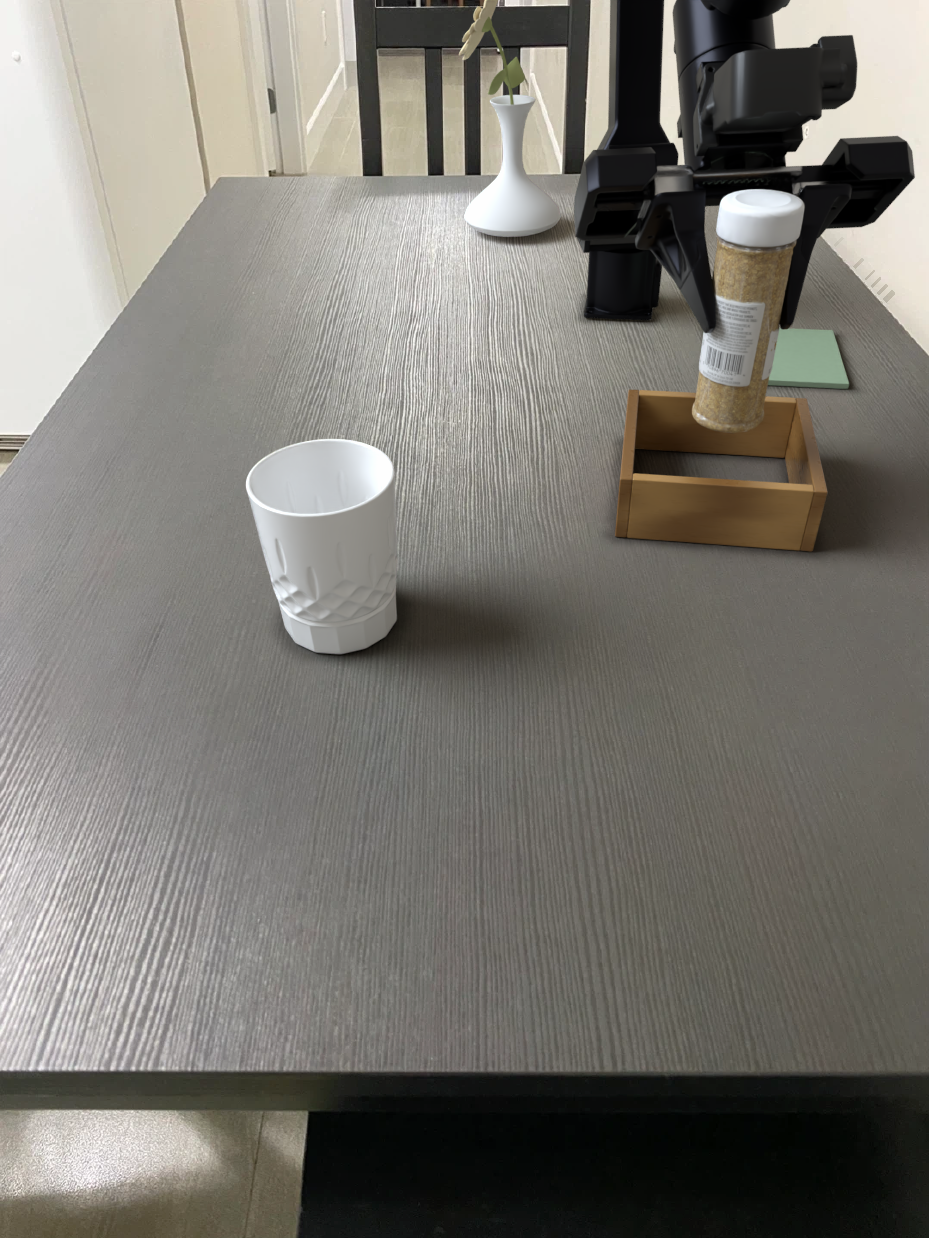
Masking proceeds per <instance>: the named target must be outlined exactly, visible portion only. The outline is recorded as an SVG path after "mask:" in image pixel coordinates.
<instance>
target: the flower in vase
mask: <svg viewBox="0 0 929 1238" xmlns="http://www.w3.org/2000/svg"><path fill="white" fill-rule="evenodd" d="M498 2H499V0H484V2H483V6H482V7H481V6H478V5H477V6H476V8H475V10H474V12H473V14H472V16H473V21H474V22H473V23H471V25H470V27H469V29H468V30H467V31H466V32H465V33H464V34H463V37H462V39H461V42H462V43H464V44H463V45H462V47H461V49H460V51H459V53H458V56H459V57H460V56H462V55H463V57H462V61H466V60H467V59H469V58H470V57H471V56H472V54H473V53H474V52H475V50H476V48H477V47H478V45H479V44H480V42H482V41H481V40H482V39H483V37H484V36H485V34H486V33H488V32H489V31H490V32H491V35H492V37H493V39H494V41H495V44H496V46H497V49H498V51H499V54H500V57H501V59H502V64H503V69H501V70H500V71H498V73H497V74H496V75H495V76H494V77H493V79H492V80H491V83H490V85H489V88H488V91H487V95H489V96H493V95H495V94H497V93H498V91H499V90H500V88H501V86H502V84H503V82H504V83H505V85H506V86H507V88H508V93H509V94H506V95H505V94H504V95H498V96H494V97H492V98H490V99H489V103H490V105H491V107H492V108H493V109H494V111H495V113H496V115H497V117H498V118H497V119H498V121H499V126H500V131H501V132H500V133H501V140H502V141H501V142H502V163H501V167H500V171H499V173H498V175H497V176H496V177H495V179H494V180H493V181H492V182H491V183H489V185H488V186H486V187H485V188H484V189H483V190H482V191H481V192H480V193H479V194H478V195H476V196H475V197H474V199H472V201H471V202H470V203H469V204H468V206H467V207H466V209H465V212H464V215H463V218H464V219H463V220H464V221H465V222H466V224H467V225H468V226H469V227H470V228H471V229H472V230H474V231H477V232H479V233H482V234H484V235H489V236H493V237H501V238H503V237H504V238H516V237H517V238H518V237H527V236H533V235H537V234H540V233H543V232H545V231H548V230H550V229H552V228H553V227H555V226H556V225H557V224H558V222H559V221H560V219H561V217H562V212H561V208H560V206H559V205H558V203H557V202H556V201H555V200H554V199H553V197H552V196H551V195H550V194H548V193H547V192H546V190H544V189H543V188H542V187H540V186H539V185H538V184H537V183H536V182H535V181H533V180H532V178H530V176H529V175H528V174H527V172H526V169H525V166H524V160H523V159H524V158H523V147H524V145H523V144H524V133H525V128H526V123H527V119H528V115H529V113H530V111H531V109H532V107H533V105H534V104H535V103H536V100H537V99H536V98H535V97H534V96H531V95H525V94H513V89H514V88H517V87H518V86H519V85H521V84H522V83H523V82H524V81H525V80H526V76H525V72H524V71H523V68H522V65H521V63H520V60H519V57H518V56H515V57H514V58H513V59H512V60H511V61H510V62H509V63H508V64H507V59H506V56H505V52H504V50H503V47H502V44H501V42H500V40H499V37H498V34H497V32H496V30H495V28H494V27H493V22H492V19H493V18H492V17H493V15H494V12H495V10H496V8H497V4H498Z"/></svg>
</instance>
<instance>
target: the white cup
mask: <svg viewBox="0 0 929 1238" xmlns="http://www.w3.org/2000/svg"><path fill="white" fill-rule="evenodd" d="M395 474H396V473H395V465H394V463H393V461H392V459H391V458H390V457H389V456H388V455H387V454H386V453H385V452H384V451H383V450H381V449H380V448H377V447H376V446H373V445H371V444H368V443H365V442H361V441H358V440H352V439H344V438H320V439H312V440H306V441H301V442H297V443H292V444H290V445H287V446H284V447H282V448H278V449H276V450H274V451H273V452H271V453H269V454H267V455H265V456H264V457H263V458H262V459H260V460H259V461H258V462H256V463H255V465H253V466H252V468H251V469H250V471H249V472H248V475H247V476H246V480H245V489H246V493H247V497H248V500H249V504H250V507H251V512H252V515H253V519H254V524H255V526H256V531H257V534H258V539H259V543H260V546H261V550H262V554H263V558H264V562H265V565H266V568H267V571H268V574H269V577H270V581H271V585H272V588H273V592H274V595H275V598H276V599H277V601H278V605H279V609H280V613H281V617H282V621H283V625H284V629H285V630H286V631H287V633H288V634H289V636H290V637H291V639H292V640H293V641H294V643H295V644H296V645H298V646H301V647H303V648H305V649H307V650H310V651H312V652H314V653H317V654H331V655H344V654H348V653H353V652H357V651H361V650H365V649H368V648H369V647H371V646H372V645H374V644H376V643H378V642H379V641H380V640H383V639H384V638H386V637H387V636H388V634H389V632H390V631H391V629H392V628H393V626H394V625H395V624H396V622H397V620H398V613H397V593H396V591H397V581H398V578H399V575H398V556H399V555H398V535H397V505H396V504H397V503H396V501H397V500H396V476H395Z"/></svg>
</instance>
